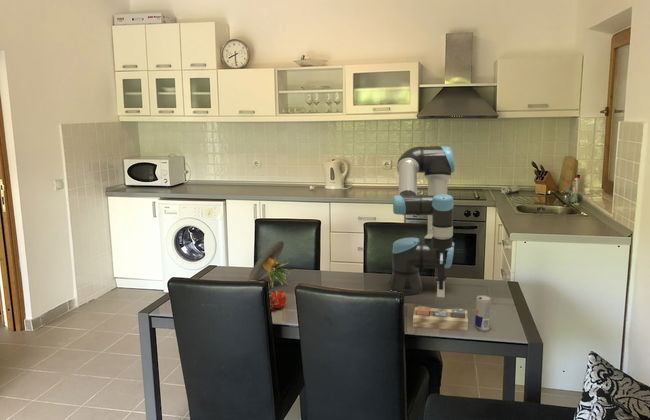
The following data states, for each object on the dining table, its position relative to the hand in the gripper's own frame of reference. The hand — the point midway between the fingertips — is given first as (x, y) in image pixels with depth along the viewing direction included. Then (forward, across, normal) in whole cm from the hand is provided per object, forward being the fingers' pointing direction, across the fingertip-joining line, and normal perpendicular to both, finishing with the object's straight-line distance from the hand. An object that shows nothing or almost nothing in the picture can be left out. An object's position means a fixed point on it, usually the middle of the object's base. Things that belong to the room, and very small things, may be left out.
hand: (440, 296), depth 205 cm
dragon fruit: (+11, -3, -67) cm, 68 cm away
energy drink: (+11, +3, +16) cm, 19 cm away
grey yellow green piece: (+12, -31, -78) cm, 85 cm away
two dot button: (+8, +1, +7) cm, 10 cm away
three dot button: (+9, +1, 0) cm, 9 cm away
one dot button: (+8, +1, -6) cm, 10 cm away
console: (+10, +1, 0) cm, 10 cm away
